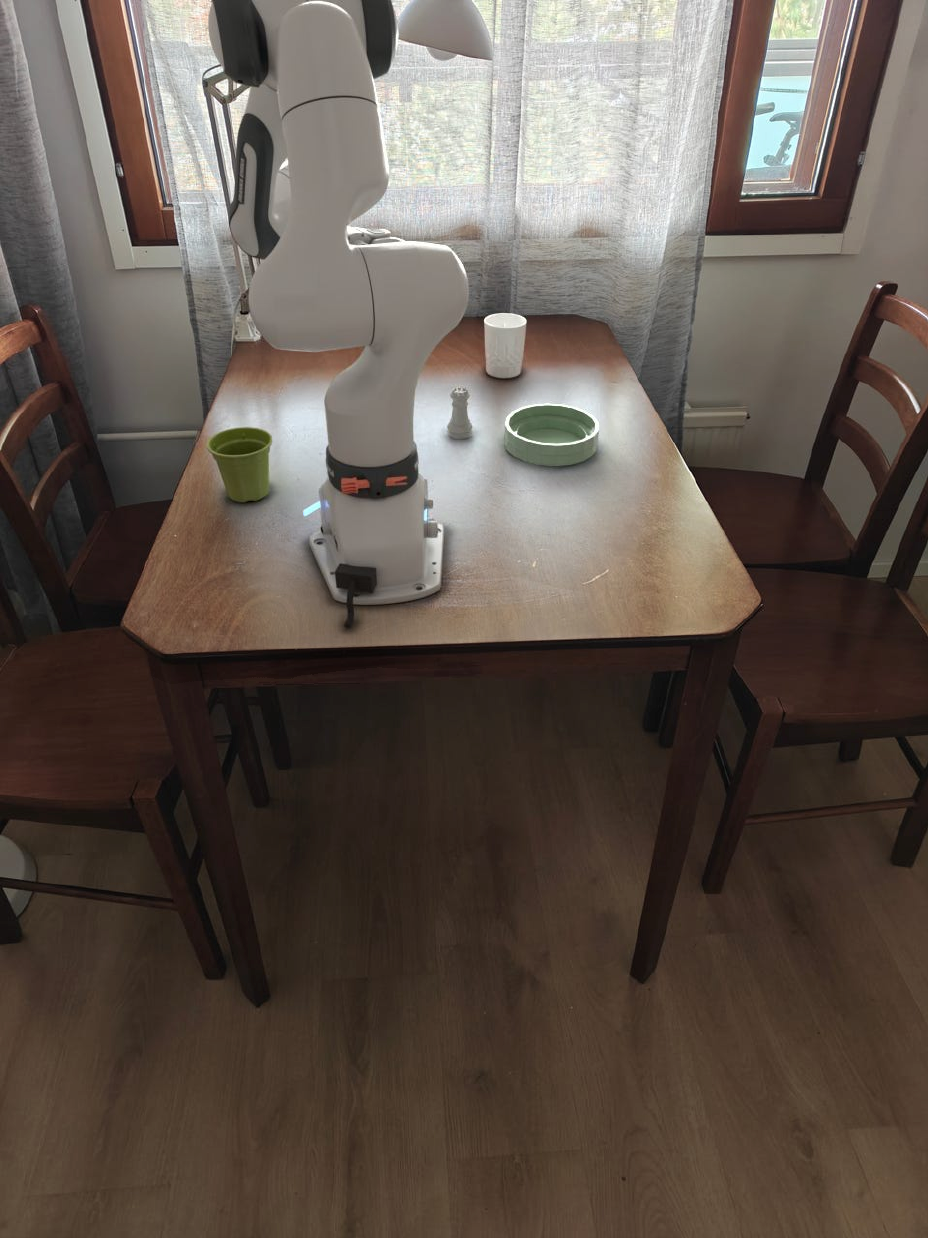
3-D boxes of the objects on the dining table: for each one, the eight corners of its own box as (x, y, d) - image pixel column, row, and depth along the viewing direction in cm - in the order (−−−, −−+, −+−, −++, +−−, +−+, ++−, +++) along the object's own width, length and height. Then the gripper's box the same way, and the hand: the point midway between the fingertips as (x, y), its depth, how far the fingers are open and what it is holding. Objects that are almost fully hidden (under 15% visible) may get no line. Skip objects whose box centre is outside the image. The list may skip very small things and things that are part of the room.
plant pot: (203, 499, 131) (192, 446, 125) (243, 472, 137) (235, 421, 132) (253, 515, 127) (244, 461, 122) (292, 486, 134) (285, 434, 128)
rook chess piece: (474, 429, 150) (474, 384, 145) (471, 441, 146) (472, 395, 141) (448, 427, 150) (447, 383, 145) (445, 439, 146) (444, 394, 142)
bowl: (608, 465, 140) (611, 441, 137) (515, 472, 138) (516, 448, 135) (581, 423, 152) (583, 400, 149) (496, 430, 149) (496, 407, 147)
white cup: (520, 381, 166) (523, 329, 159) (479, 377, 167) (480, 325, 161) (526, 365, 172) (529, 314, 165) (487, 362, 173) (488, 311, 167)
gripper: (299, 248, 137) (360, 279, 132) (391, 226, 150) (450, 254, 144) (299, 287, 142) (358, 319, 136) (389, 263, 154) (446, 292, 148)
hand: (406, 285), depth 140 cm, fingers open, 8 cm apart
